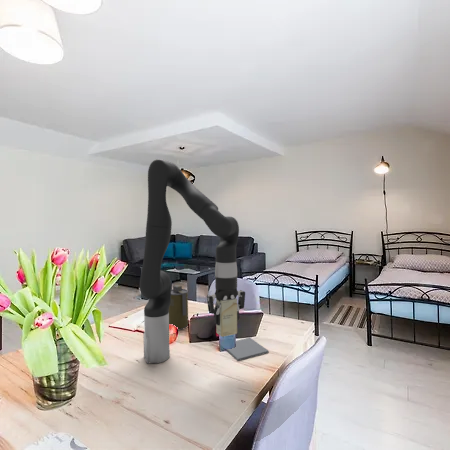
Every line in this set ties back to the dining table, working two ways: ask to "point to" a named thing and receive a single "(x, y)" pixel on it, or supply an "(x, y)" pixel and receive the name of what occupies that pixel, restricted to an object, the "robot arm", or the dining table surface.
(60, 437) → the dining table surface
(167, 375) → the dining table surface
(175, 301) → the canister
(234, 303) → the skincare box
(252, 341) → the mat
